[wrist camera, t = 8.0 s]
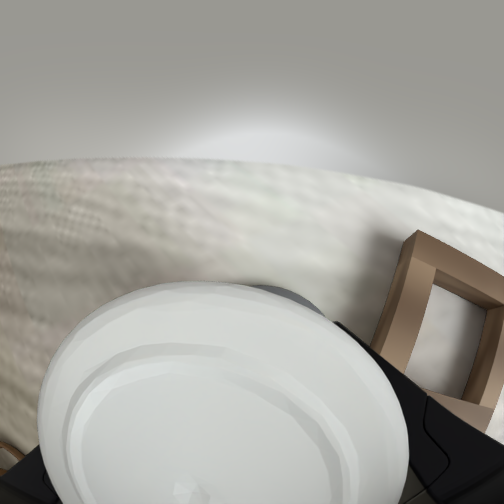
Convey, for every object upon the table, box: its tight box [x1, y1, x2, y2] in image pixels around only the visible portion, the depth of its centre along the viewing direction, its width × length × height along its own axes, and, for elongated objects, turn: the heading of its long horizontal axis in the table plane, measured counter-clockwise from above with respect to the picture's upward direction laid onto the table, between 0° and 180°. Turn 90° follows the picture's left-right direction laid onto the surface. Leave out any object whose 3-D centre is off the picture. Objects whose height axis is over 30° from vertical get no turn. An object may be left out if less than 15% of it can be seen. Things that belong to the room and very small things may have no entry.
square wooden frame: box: [370, 230, 504, 434], centre depth 14 cm, size 10×10×2 cm
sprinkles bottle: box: [37, 281, 409, 504], centre depth 8 cm, size 5×5×14 cm
